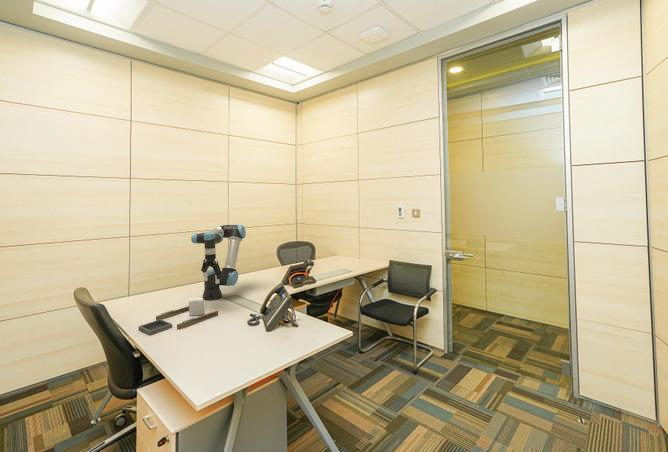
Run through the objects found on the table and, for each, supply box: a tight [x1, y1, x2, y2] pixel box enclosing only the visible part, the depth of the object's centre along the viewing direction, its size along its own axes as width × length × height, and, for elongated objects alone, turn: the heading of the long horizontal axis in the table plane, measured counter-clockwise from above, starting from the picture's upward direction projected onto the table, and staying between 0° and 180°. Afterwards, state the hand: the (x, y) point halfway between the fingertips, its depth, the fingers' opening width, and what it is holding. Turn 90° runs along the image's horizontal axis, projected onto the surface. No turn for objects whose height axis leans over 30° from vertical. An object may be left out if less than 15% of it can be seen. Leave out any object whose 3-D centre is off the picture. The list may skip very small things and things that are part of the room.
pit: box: [137, 319, 173, 336], centre depth 206 cm, size 14×14×2 cm
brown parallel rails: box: [155, 305, 219, 330], centre depth 224 cm, size 28×30×4 cm
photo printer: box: [188, 297, 206, 317], centre depth 229 cm, size 10×4×12 cm, turn 100°
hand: (211, 282), depth 238 cm, fingers open, 13 cm apart
